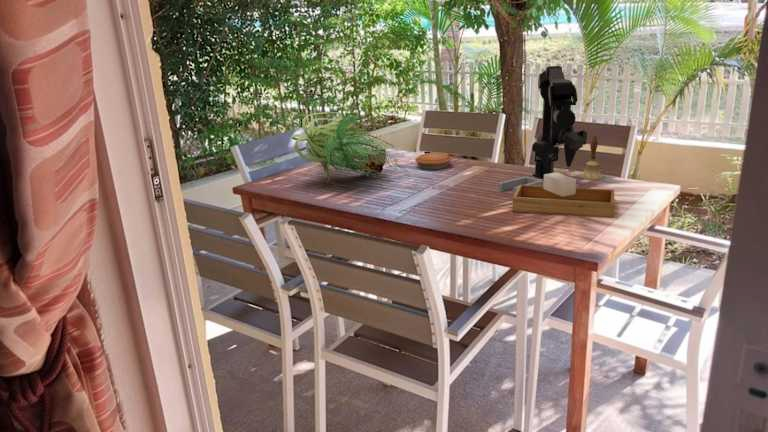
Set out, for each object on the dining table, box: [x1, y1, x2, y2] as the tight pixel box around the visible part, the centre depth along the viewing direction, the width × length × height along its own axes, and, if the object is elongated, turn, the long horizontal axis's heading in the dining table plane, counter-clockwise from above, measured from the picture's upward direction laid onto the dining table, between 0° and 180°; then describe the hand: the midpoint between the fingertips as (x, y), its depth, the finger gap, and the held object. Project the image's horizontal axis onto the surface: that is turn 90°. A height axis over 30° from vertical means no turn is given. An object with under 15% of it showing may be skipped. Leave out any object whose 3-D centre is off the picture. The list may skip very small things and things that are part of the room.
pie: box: [414, 152, 453, 171], centre depth 254 cm, size 16×16×5 cm
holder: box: [498, 175, 544, 195], centre depth 217 cm, size 13×9×3 cm, turn 121°
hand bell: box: [579, 134, 604, 181], centre depth 225 cm, size 8×8×16 cm
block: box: [543, 172, 577, 197], centre depth 196 cm, size 10×5×5 cm, turn 22°
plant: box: [291, 109, 415, 187], centre depth 237 cm, size 35×35×40 cm
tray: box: [511, 185, 615, 219], centre depth 196 cm, size 31×15×6 cm, turn 70°
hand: (558, 169), depth 197 cm, fingers open, 9 cm apart
